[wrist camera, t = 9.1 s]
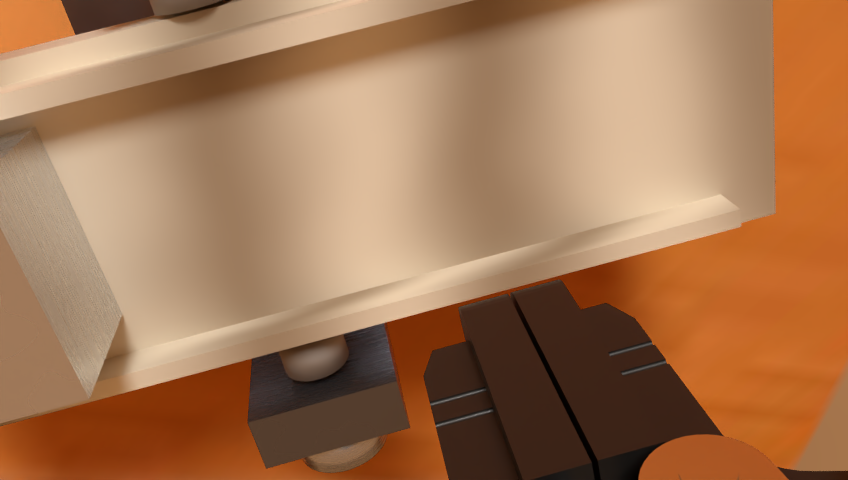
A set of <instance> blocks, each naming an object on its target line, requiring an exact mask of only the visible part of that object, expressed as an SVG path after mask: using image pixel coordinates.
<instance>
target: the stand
mask: <svg viewBox="0 0 848 480" xmlns="http://www.w3.org/2000/svg"><path fill="white" fill-rule="evenodd" d="M61 1H62V3H63V6H64V8H65V10H66V13H67V15H68V18H69V20H70V22H71V25H72V27H73V30H74V32H75V34H76V35H78V34H82V33H86V32H90V31H94V30H98V29H102V28H106V27H110V26H114V25H118V24H122V23H126V22H130V21H134V20H138V19H142V18H146V17H150V16H154V12H153V9H152V6H151V4H150V1H149V0H61ZM344 338H345V341H346V344H347V347H348V350H349V356H348V359H347V361H346V363H345V364H344V365H343V366H342V367H341V368H340V369H339V370H337V371H336V372H334V373H333V374H331V375H329V376H327V377H324V378H322V379H318V380H314V381H296V380H293V379H291V378H290V377H289V376H288V375H287V374H286V371H285V368H284V365H283V363H282V360H281V357H280V355H279V352H274V353H270V354H267V355H263V356H259V357H256V358H252V367H251V381H250V396H249V411H248V425H249V427H250V430H251V432H252V435H253V437H254V440H255V442H256V444H257V447H258V449H259V452H260V454H261V457H262V459H263V461H264V464H265V466H266V468H270V467H273V466H277V465H280V464H284V463H287V462H291V461H295V460H298V459H302V458H303V460H304V462H305V463H306V464H307V465H308V466H309V467H310V468H312V469H314V470H316V471H319V472H325V473H336V472H343V471H347V470H350V469H353V468H355V467H358V466H360V465H362V464H364V463H365V462H367V461H368V460H370V459H371V458H372V457H374V456H375V455H376V454H377V453H378V452H379V450H380V449H381V448H382V446H383V445H384V443H385V441H386V438H387V434H390V433H394V432H397V431H401V430H404V429H408V428H410V425H409V420H408V416H407V411H406V407H405V402H404V398H403V394H402V389H401V385H400V380H399V376H398V371H397V367H396V363H395V358H394V354H393V349H392V345H391V340H390V336H389V332H388V327H387V323H386V322H385V323H382V324H378V325H374V326H371V327H367V328H363V329H359V330H356V331H352V332H348V333H345V334H344Z"/></svg>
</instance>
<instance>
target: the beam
mask: <svg viewBox="0 0 848 480" xmlns="http://www.w3.org/2000/svg"><path fill="white" fill-rule="evenodd" d="M149 1H150V4H151V6H152V9H153V12H154V16H150V17H146V18H142V19H138V20H134V21H130V22H126V23H122V24H118V25H114V26H110V27H106V28H102V29H98V30H94V31H90V32H86V33H82V34H78V35H74V36H70V37H66V38H62V39H58V40H54V41H50V42H46V43H42V44H38V45H34V46H30V47H26V48H22V49H18V50H14V51H10V52H6V53H2V54H0V135H2V134H6V133H10V132H14V131H18V130H22V129H26V128H30V127H34V126H35V127H36V129H37V131H38V134H39V136H40V138H41V140H42V142H43V144H44V146H45V149H46V151H47V153H48V155H49V157H50V159H51V162H52V164H53V166H54V168H55V170H56V172H57V174H58V177H59V179H60V181H61V183H62V185H63V187H64V190H65V192H66V194H67V196H68V198H69V200H70V202H71V205H72V207H73V209H74V211H75V213H76V215H77V217H78V220H79V222H80V224H81V226H82V228H83V230H84V233H85V235H86V237H87V239H88V241H89V243H90V245H91V248H92V250H93V252H94V254H95V256H96V258H97V260H98V263H99V265H100V267H101V269H102V271H103V273H104V276H105V278H106V280H107V282H108V284H109V286H110V288H111V291H112V293H113V295H114V297H115V299H116V301H117V303H118V306H119V308H120V310H121V312H122V317H121V319H120V322H119V325H118V327H117V330H116V332H115V335H114V337H113V340H112V343H111V345H110V348H109V350H108V353H107V356H106V358H105V361H104V363H103V366H102V368H101V371H100V374H99V376H98V379H97V381H96V384H95V386H94V389H93V392H92V394H91V397H90V399H89V400H86V401H82V402H78V403H75V404H71V405H67V406H63V407H60V408H56V409H52V410H48V411H45V412H41V413H37V414H34V415H30V416H26V417H22V418H19V419H15V420H11V421H7V422H4V423H0V426H3V425H7V424H11V423H14V422H18V421H22V420H26V419H29V418H33V417H37V416H40V415H44V414H48V413H52V412H55V411H59V410H63V409H66V408H70V407H74V406H78V405H81V404H85V403H89V402H92V401H96V400H100V399H103V398H107V397H111V396H115V395H118V394H122V393H126V392H129V391H133V390H137V389H141V388H144V387H148V386H152V385H155V384H159V383H163V382H167V381H170V380H174V379H178V378H181V377H185V376H189V375H193V374H196V373H200V372H204V371H207V370H211V369H215V368H218V367H222V366H226V365H230V364H233V363H237V362H241V361H244V360H248V359H252V358H256V357H259V356H263V355H267V354H270V353H274V352H279V355H280V357H281V360H282V363H283V365H284V368H285V371H286V374H287V375H288V376H289V377H290V378H291V379H293V380H296V381H314V380H318V379H322V378H324V377H327V376H329V375H331V374H333V373H334V372H336V371H337V370H339V369H340V368H341V367H342V366H343V365H344V364H345V363H346V361H347V359H348V356H349V350H348V347H347V344H346V341H345V338H344V334H345V333H348V332H352V331H356V330H359V329H363V328H367V327H371V326H374V325H378V324H382V323H385V322H389V321H393V320H397V319H400V318H404V317H408V316H411V315H415V314H419V313H423V312H426V311H430V310H434V309H437V308H441V307H445V306H449V305H452V304H456V303H460V302H463V301H467V300H471V299H474V298H478V297H482V296H486V295H489V294H493V293H497V292H500V291H504V290H508V289H512V288H515V287H519V286H523V285H526V284H530V283H534V282H538V281H541V280H545V279H549V278H552V277H556V276H560V275H564V274H567V273H571V272H575V271H578V270H582V269H586V268H590V267H593V266H597V265H601V264H604V263H608V262H612V261H615V260H619V259H623V258H627V257H630V256H634V255H638V254H641V253H645V252H649V251H653V250H656V249H660V248H664V247H667V246H671V245H675V244H679V243H682V242H686V241H690V240H693V239H697V238H701V237H705V236H708V235H712V234H716V233H719V232H723V231H727V230H730V229H734V228H738V227H741V223H742V222H746V221H750V220H753V219H757V218H761V217H765V216H768V215H772V214H775V136H774V57H773V0H149Z"/></svg>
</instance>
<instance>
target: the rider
mask: <svg viewBox="0 0 848 480" xmlns="http://www.w3.org/2000/svg"><path fill="white" fill-rule="evenodd" d="M121 317H122V312H121V310H120V308H119V306H118V303H117V301H116V299H115V297H114V295H113V293H112V291H111V288H110V286H109V284H108V282H107V280H106V278H105V276H104V273H103V271H102V269H101V267H100V265H99V263H98V260H97V258H96V256H95V254H94V252H93V250H92V248H91V245H90V243H89V241H88V239H87V237H86V235H85V233H84V230H83V228H82V226H81V224H80V222H79V220H78V217H77V215H76V213H75V211H74V209H73V207H72V205H71V202H70V200H69V198H68V196H67V194H66V192H65V190H64V187H63V185H62V183H61V181H60V179H59V177H58V174H57V172H56V170H55V168H54V166H53V164H52V162H51V159H50V157H49V155H48V153H47V151H46V149H45V146H44V144H43V142H42V140H41V138H40V136H39V134H38V131H37V129H36V127H35V126H34V127H30V128H26V129H22V130H18V131H14V132H10V133H6V134H2V135H0V423H4V422H7V421H11V420H15V419H19V418H22V417H26V416H30V415H34V414H37V413H41V412H45V411H48V410H52V409H56V408H60V407H63V406H67V405H71V404H75V403H78V402H82V401H86V400H89V399H90V397H91V394H92V392H93V389H94V386H95V384H96V381H97V379H98V376H99V374H100V371H101V368H102V366H103V363H104V361H105V358H106V356H107V353H108V350H109V348H110V345H111V343H112V340H113V337H114V335H115V332H116V330H117V327H118V325H119V322H120V319H121Z"/></svg>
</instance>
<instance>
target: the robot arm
mask: <svg viewBox="0 0 848 480" xmlns="http://www.w3.org/2000/svg"><path fill="white" fill-rule="evenodd" d="M459 314H460V319H461V323H462V327H463V331H464V336H465V340H466V342H462V343H459V344H455V345H451V346H448V347H444V348H440V349H437V350H433V351H432V354H431V356H430V359H429V362H428V365H427V368H426V371H425V373H424V376H423V377H424V381H425V385H426V389H427V393H428V397H429V401H430V405H431V409H432V413H433V417H434V421H435V425H436V429H437V433H438V437H439V441H440V445H441V449H442V453H443V457H444V461H445V465H446V469H447V474H448V478H449V480H848V471H813V472H812V471H797V470H790V469H784V468H780V467H776V466H775V464H774V463H773V462H772V461H771V460H770V459H769V458H768V457H766V456H765V455H764V454H763V453H762V452H760V451H759V450H757V449H756V448H754V447H753V446H750V445H748V444H746V443H744V442H742V441H739V440H736V439H733V438H729V437H725V436H723V435H722V434H721V432H720V431H719V430H718V428H717V427H716V426H715V424H714V423H713V422H712V420H711V419H710V418H709V416H708V415H707V414H706V412H705V411H704V410H703V408H702V407H701V406H700V404H699V403H698V402H697V400H696V399H695V398H694V396H693V395H692V394H691V392H690V391H689V390H688V388H687V387H686V386H685V384H684V383H683V382H682V380H681V379H680V378H679V376H678V375H677V374H676V372H675V371H674V370H673V368H672V367H671V366H670V364H667V363H666V360H665V358H664V356H663V355H662V354H661V353H660V351H659V350H658V349H657V347H656V346H655V345H653V344H652V341H651V339H650V338H649V337H648V335H647V334H646V333H645V331H644V330H643V329H642V327H641V326H640V325H639V323H638V322H637V321H636V319H635V318H633V317H632V316H630V315H628V314H626V313H624V312H622V311H620V310H618V309H617V308H615V307H613V306H611V305H609V304H607V303H604V304H600V305H597V306H593V307H589V308H586V309H582V310H580V308H579V306H578V305H577V303H576V302H575V300H574V299H573V297H572V296H571V294H570V292H569V291H568V289H567V288H566V286H565V285H564V283H563V282H562V281H561V280H556V281H552V282H548V283H545V284H541V285H537V286H534V287H530V288H526V289H523V290H519V291H515V292H512V293H511V294H510V297H509V295H508V294H505V295H501V296H498V297H494V298H490V299H487V300H483V301H479V302H476V303H472V304H468V305H465V306H461V307H459Z"/></svg>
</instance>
